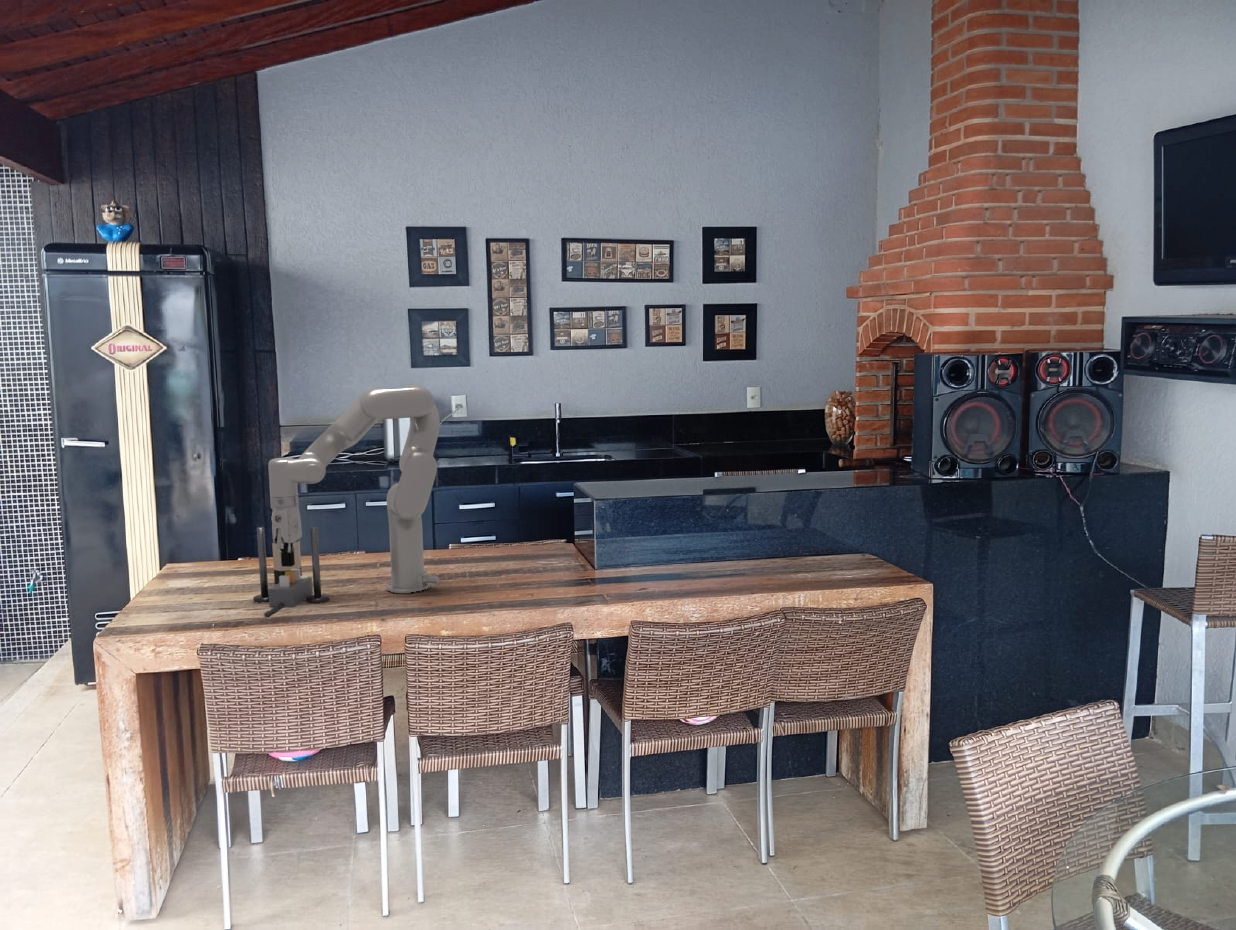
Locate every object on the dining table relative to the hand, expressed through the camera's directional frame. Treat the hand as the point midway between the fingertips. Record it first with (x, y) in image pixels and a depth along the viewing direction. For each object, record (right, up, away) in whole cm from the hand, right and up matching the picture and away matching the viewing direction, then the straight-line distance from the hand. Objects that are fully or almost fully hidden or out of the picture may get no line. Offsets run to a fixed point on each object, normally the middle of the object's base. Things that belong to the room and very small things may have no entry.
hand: (288, 565), depth 305 cm
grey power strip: (0, -11, -3) cm, 11 cm away
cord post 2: (+8, -10, +1) cm, 13 cm away
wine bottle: (-7, -7, +25) cm, 27 cm away
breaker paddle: (0, -5, +1) cm, 5 cm away
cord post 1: (-7, -10, +3) cm, 13 cm away
